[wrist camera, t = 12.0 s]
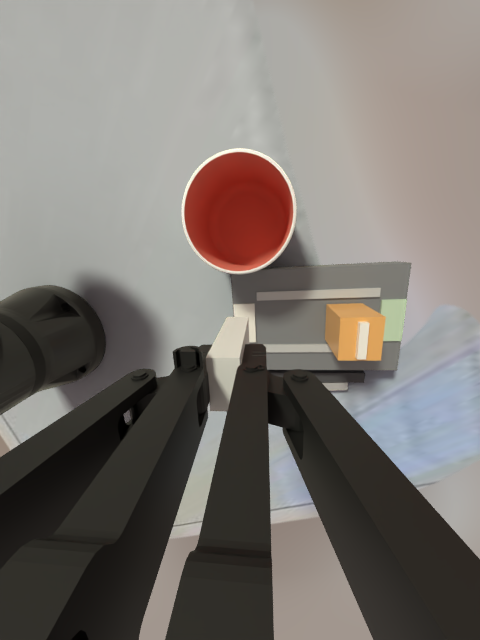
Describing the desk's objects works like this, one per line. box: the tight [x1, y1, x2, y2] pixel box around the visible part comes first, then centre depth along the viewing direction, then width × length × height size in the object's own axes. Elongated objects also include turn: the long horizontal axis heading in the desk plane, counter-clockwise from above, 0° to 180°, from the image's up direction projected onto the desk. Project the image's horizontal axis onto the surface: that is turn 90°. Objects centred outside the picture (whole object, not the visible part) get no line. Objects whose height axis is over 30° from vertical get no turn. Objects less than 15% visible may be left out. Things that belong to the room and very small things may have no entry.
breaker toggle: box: [325, 303, 386, 361], centre depth 26 cm, size 4×4×7 cm
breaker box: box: [231, 262, 411, 370], centre depth 31 cm, size 20×13×3 cm, turn 93°
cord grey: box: [322, 382, 348, 391], centre depth 35 cm, size 14×1×1 cm, turn 96°
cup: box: [182, 148, 297, 274], centre depth 25 cm, size 10×10×10 cm
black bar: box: [268, 370, 365, 383], centre depth 34 cm, size 16×1×1 cm, turn 93°
